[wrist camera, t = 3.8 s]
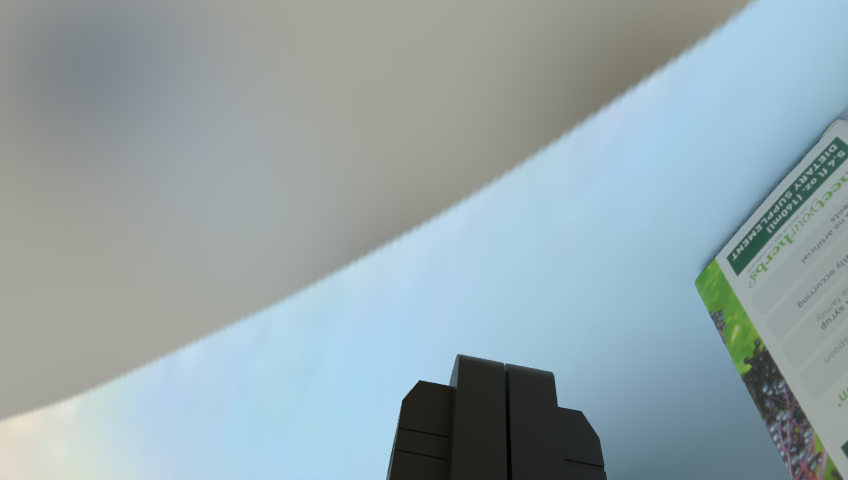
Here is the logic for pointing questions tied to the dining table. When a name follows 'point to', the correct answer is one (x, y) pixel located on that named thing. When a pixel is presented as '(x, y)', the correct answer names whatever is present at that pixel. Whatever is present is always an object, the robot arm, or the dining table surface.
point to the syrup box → (793, 309)
